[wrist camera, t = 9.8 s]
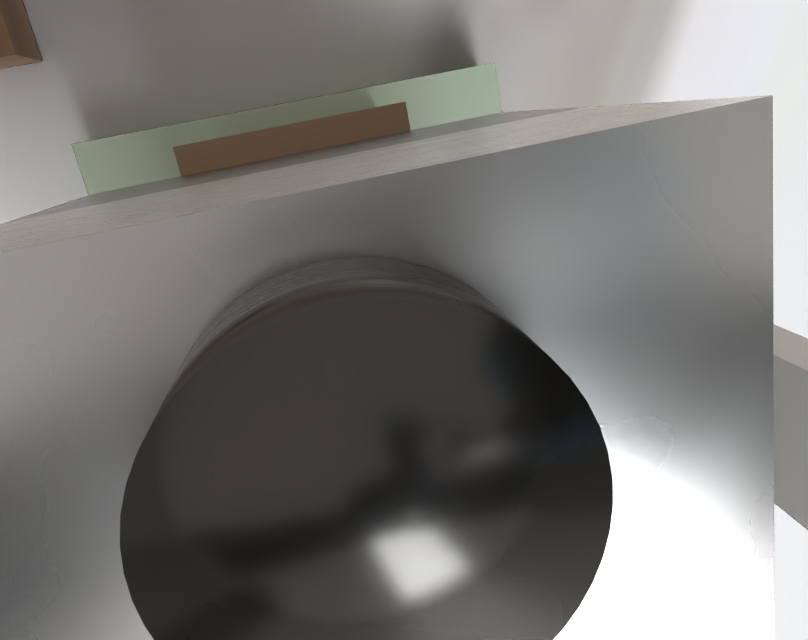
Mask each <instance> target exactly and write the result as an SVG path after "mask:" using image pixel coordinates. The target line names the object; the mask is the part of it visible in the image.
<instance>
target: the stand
mask: <svg viewBox="0 0 808 640" xmlns="http://www.w3.org/2000/svg"><path fill="white" fill-rule="evenodd" d="M41 61H42V58H41V55H40V52H39V49H38V46H37V43H36V40H35V37H34V34H33V31H32V28H31V25H30V22H29V19H28V16H27V13H26V10H25V8H24V5H23V2H22V0H0V69H2V68H7V67H13V66H19V65H24V64H30V63H35V62H41Z"/></svg>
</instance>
